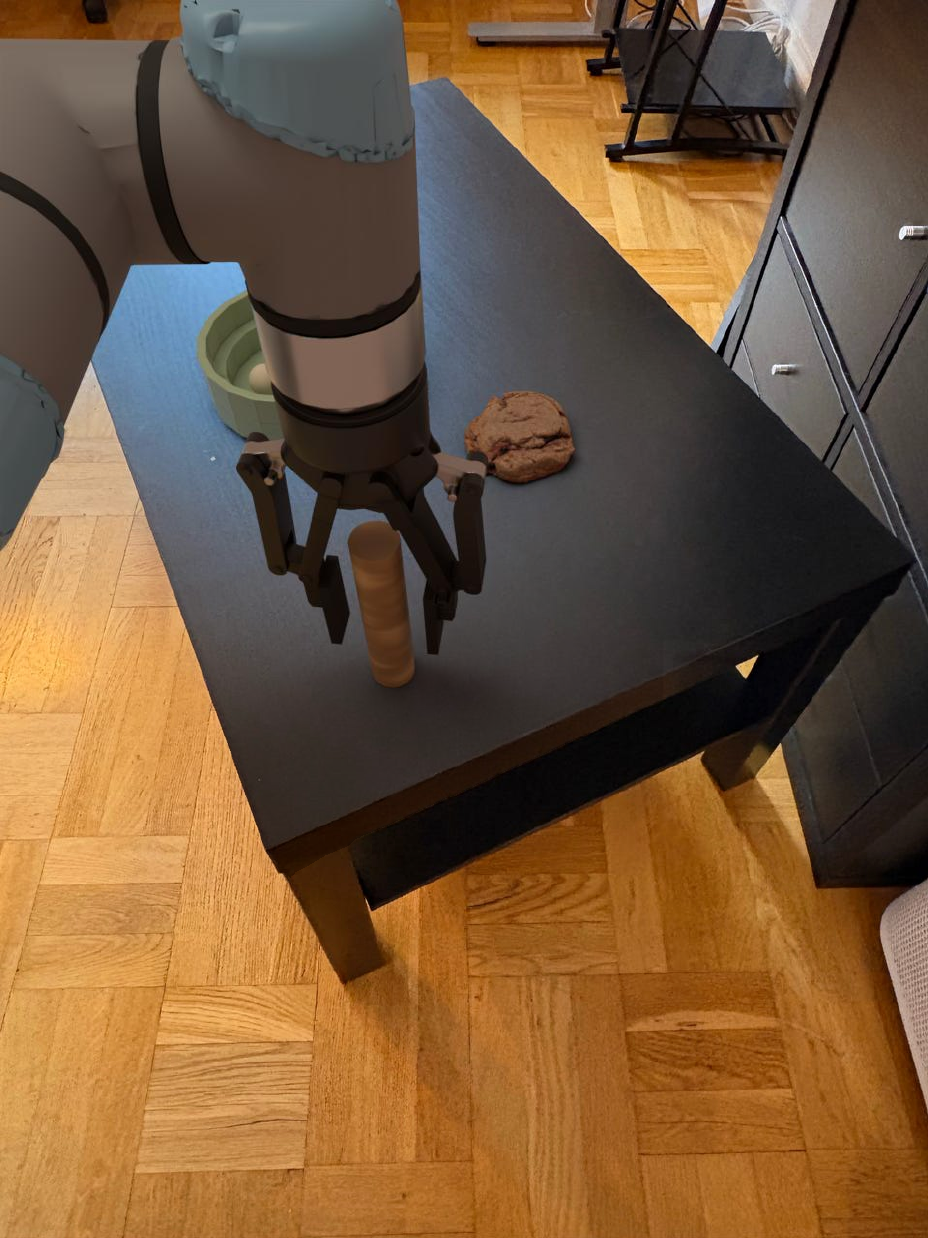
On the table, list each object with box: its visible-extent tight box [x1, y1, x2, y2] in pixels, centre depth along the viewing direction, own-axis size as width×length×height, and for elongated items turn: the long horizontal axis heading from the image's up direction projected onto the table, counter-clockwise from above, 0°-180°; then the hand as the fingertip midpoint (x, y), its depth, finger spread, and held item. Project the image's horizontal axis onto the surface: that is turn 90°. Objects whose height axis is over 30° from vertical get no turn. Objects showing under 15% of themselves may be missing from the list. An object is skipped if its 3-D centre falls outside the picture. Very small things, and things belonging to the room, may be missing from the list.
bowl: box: [196, 289, 284, 441], centre depth 79 cm, size 18×18×6 cm
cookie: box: [463, 390, 576, 484], centre depth 75 cm, size 10×11×3 cm
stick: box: [347, 520, 416, 688], centre depth 57 cm, size 3×3×15 cm
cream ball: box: [249, 363, 273, 395], centre depth 78 cm, size 3×3×3 cm
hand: (388, 632), depth 59 cm, fingers open, 6 cm apart
